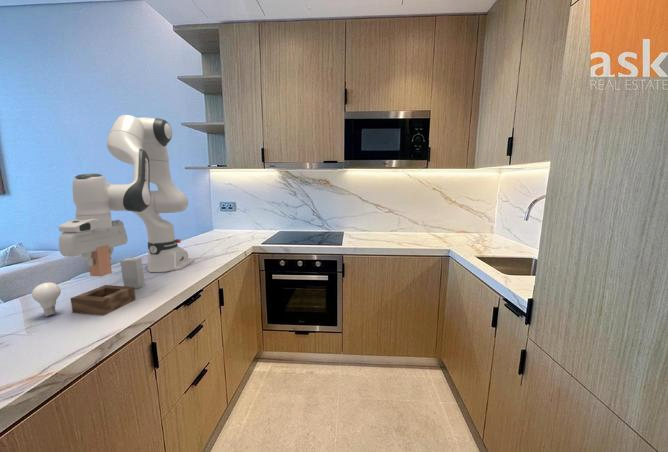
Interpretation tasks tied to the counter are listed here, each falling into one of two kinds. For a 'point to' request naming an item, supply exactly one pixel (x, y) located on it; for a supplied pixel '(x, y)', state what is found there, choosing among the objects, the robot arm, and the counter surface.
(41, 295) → the lightbulb
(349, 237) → the counter surface
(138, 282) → the skincare box
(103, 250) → the terracotta peg
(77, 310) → the walnut socket block
